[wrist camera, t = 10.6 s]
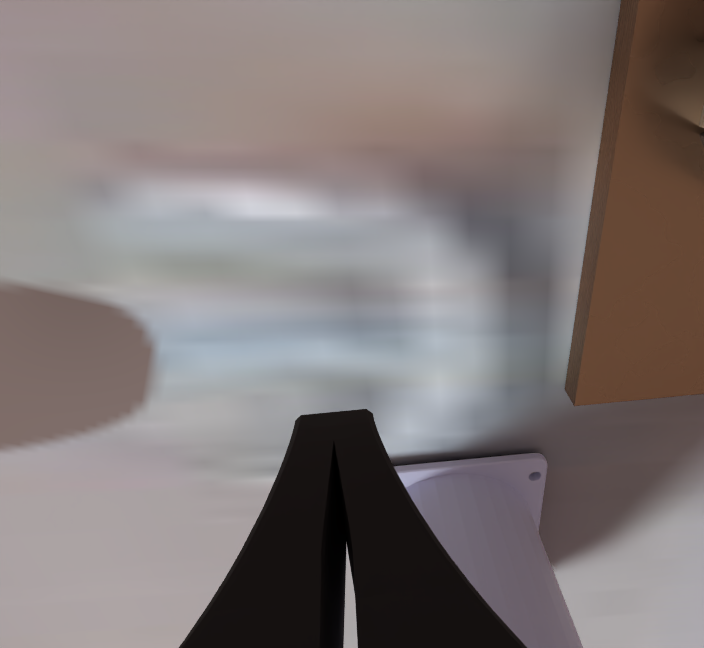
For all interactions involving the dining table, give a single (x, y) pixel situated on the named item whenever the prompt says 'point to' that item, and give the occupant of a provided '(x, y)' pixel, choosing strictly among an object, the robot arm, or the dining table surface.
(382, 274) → the dining table surface
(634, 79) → the peg hole base
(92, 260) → the dining table surface
